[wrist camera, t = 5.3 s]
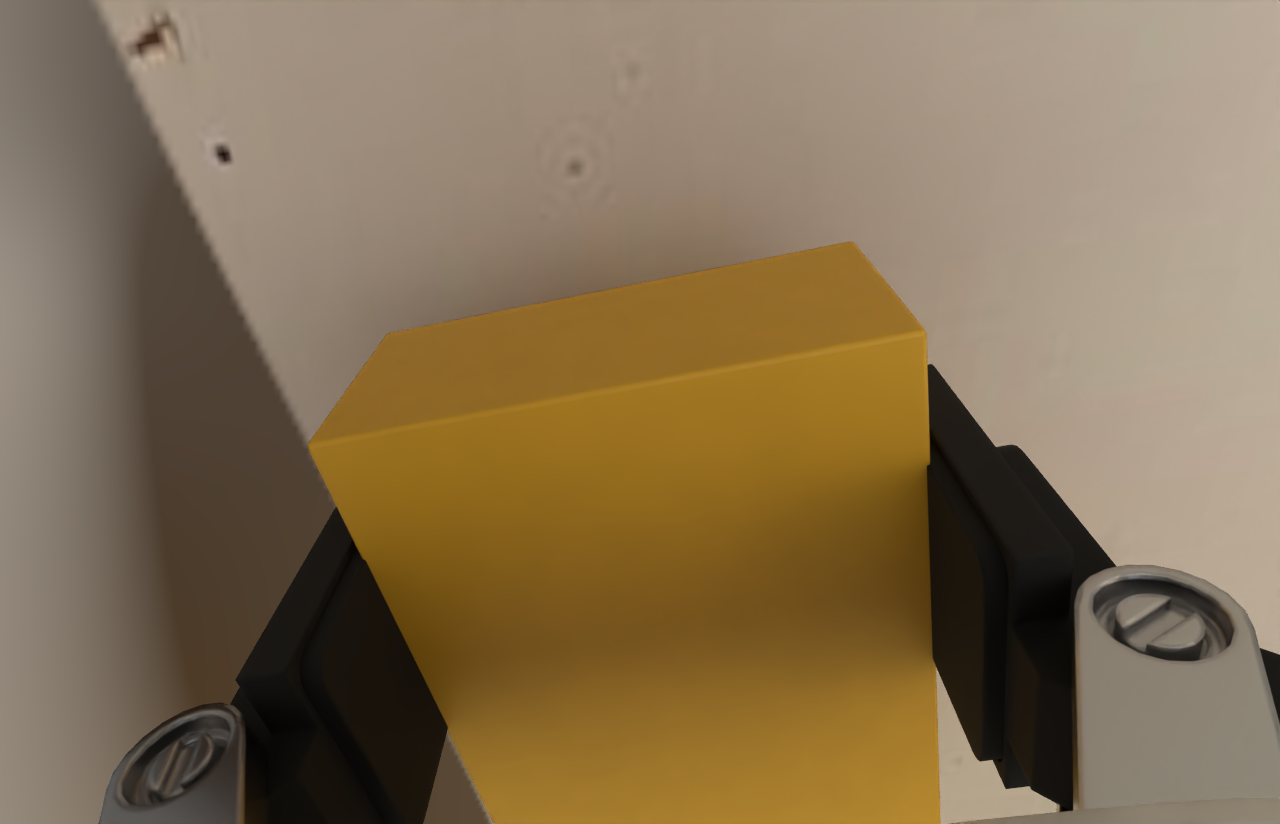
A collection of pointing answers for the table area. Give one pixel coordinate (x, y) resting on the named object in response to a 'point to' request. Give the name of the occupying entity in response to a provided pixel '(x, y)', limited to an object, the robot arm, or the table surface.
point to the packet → (663, 544)
